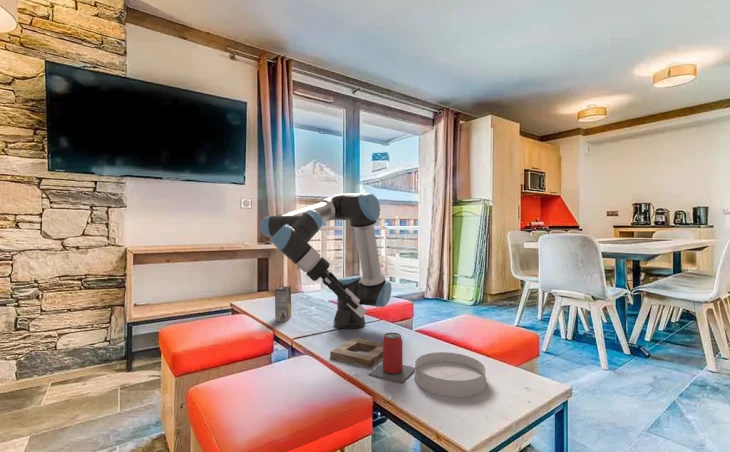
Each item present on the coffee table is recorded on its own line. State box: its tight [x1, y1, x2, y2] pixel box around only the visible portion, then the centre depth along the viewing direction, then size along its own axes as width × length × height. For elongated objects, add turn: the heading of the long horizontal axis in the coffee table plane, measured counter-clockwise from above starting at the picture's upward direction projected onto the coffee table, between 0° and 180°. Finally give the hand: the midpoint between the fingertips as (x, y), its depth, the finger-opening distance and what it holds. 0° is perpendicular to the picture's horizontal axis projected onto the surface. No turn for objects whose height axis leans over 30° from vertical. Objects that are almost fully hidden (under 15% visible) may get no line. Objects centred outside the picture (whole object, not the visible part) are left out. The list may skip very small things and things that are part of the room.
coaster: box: [368, 362, 415, 384], centre depth 119 cm, size 12×12×1 cm
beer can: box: [382, 332, 404, 374], centre depth 119 cm, size 7×7×12 cm
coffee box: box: [274, 285, 292, 322], centre depth 183 cm, size 9×6×16 cm
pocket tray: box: [329, 337, 383, 368], centre depth 134 cm, size 17×17×2 cm
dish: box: [414, 351, 487, 398], centre depth 113 cm, size 22×22×5 cm
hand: (360, 308), depth 116 cm, fingers open, 13 cm apart
